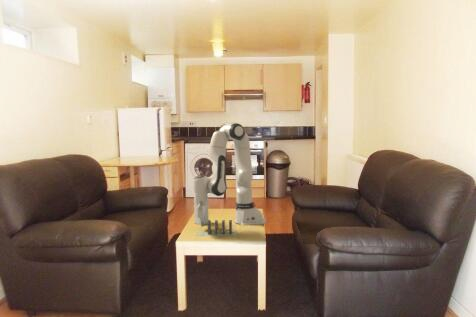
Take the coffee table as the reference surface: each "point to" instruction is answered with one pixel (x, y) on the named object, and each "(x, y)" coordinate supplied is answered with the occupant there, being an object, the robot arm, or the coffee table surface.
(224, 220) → the domino
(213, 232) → the runner mat
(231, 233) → the domino
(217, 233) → the domino
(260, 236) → the coffee table surface
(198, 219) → the milk carton
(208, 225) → the domino
